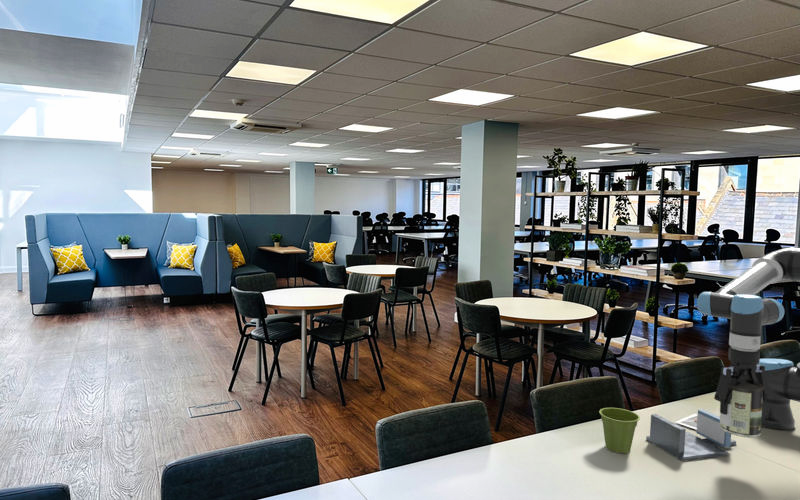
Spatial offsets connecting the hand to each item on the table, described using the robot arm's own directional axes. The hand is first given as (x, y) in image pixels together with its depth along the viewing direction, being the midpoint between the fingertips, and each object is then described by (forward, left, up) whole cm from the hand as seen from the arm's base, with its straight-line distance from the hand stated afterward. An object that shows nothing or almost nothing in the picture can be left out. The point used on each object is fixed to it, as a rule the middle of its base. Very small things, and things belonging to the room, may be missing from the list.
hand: (739, 422), depth 149 cm
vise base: (-1, -15, -14) cm, 20 cm away
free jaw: (-10, -15, -12) cm, 22 cm away
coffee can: (0, 0, -3) cm, 3 cm away
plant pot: (+26, -19, -14) cm, 35 cm away
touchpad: (-16, -30, -15) cm, 37 cm away
